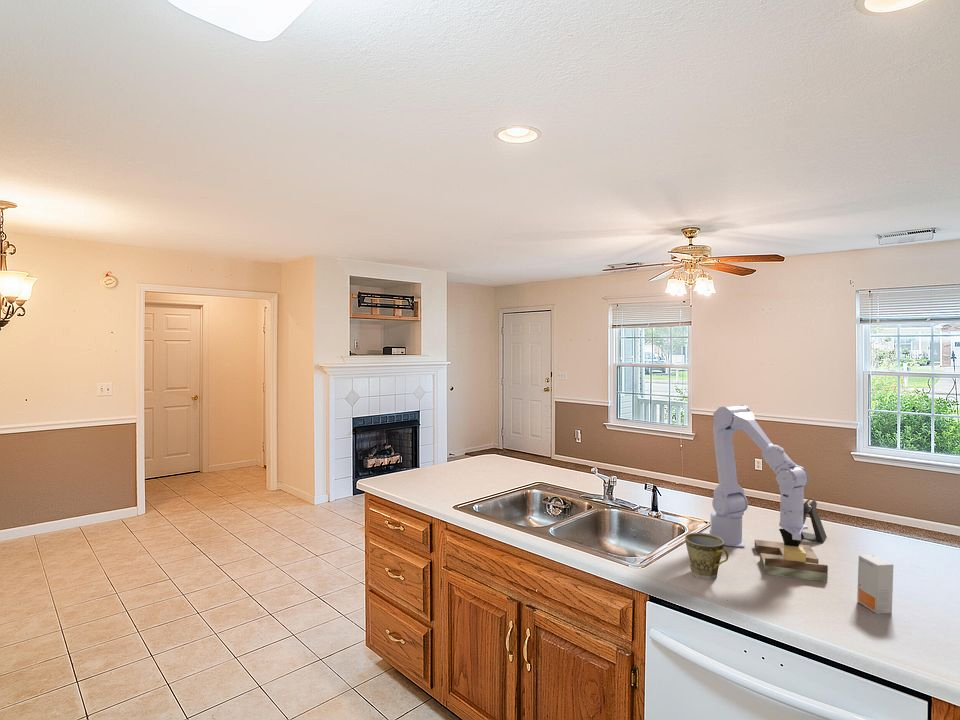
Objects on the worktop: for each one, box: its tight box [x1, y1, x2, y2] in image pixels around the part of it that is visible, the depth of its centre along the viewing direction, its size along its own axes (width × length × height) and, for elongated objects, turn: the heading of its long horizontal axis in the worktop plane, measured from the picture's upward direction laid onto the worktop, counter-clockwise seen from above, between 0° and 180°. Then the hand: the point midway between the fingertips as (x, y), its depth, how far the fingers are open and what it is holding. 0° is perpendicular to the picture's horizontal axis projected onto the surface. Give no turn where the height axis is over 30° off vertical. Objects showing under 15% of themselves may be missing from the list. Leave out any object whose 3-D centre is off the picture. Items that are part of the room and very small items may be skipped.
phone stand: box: [802, 498, 828, 544], centre depth 176 cm, size 9×6×12 cm, turn 47°
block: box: [784, 545, 806, 562], centre depth 149 cm, size 4×4×4 cm
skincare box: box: [856, 554, 894, 615], centre depth 130 cm, size 6×4×12 cm
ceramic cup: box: [684, 532, 729, 581], centre depth 147 cm, size 13×10×10 cm
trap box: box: [754, 539, 829, 583], centre depth 156 cm, size 15×20×4 cm
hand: (790, 556), depth 153 cm, fingers closed
